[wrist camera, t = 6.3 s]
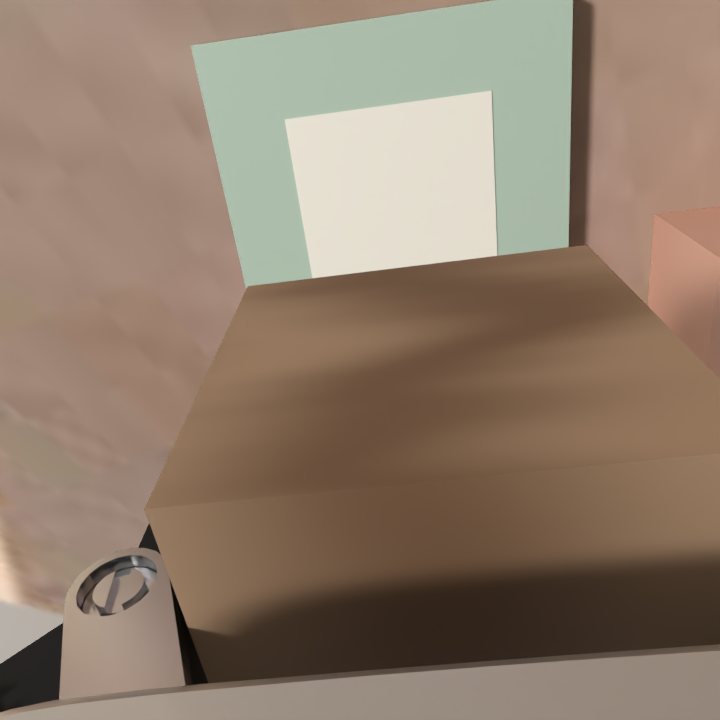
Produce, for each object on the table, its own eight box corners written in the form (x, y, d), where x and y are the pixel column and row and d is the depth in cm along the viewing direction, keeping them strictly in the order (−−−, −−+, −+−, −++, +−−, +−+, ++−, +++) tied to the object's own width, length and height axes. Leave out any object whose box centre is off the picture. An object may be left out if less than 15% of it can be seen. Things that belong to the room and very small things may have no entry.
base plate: (564, -11, 24) (573, -12, 23) (560, 329, 30) (567, 340, 29) (198, 44, 25) (190, 45, 24) (269, 361, 31) (265, 373, 30)
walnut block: (587, 244, 11) (786, 447, 6) (578, 511, 14) (708, 815, 9) (248, 286, 12) (144, 509, 6) (305, 537, 14) (266, 841, 9)
